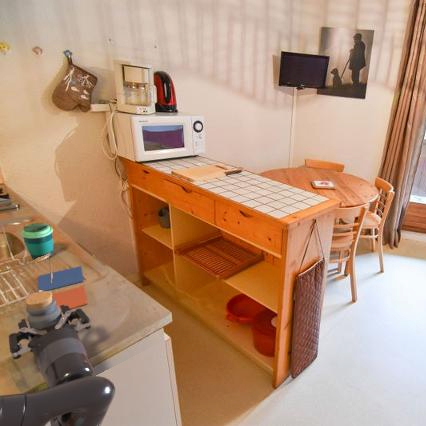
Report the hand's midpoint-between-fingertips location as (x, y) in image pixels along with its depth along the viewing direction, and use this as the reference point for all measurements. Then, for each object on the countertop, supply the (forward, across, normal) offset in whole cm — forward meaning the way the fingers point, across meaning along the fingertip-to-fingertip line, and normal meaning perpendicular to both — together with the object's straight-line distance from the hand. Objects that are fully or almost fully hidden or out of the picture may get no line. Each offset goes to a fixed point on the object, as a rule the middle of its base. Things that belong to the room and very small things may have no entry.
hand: (43, 314), depth 75 cm
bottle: (-2, 0, +9) cm, 9 cm away
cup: (+47, -7, +9) cm, 49 cm away
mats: (+23, -6, +8) cm, 25 cm away
